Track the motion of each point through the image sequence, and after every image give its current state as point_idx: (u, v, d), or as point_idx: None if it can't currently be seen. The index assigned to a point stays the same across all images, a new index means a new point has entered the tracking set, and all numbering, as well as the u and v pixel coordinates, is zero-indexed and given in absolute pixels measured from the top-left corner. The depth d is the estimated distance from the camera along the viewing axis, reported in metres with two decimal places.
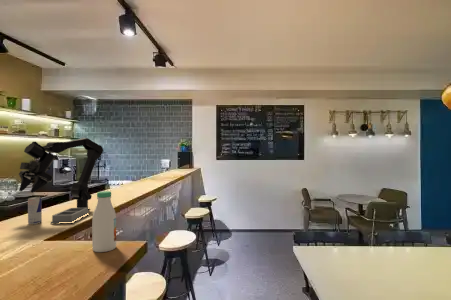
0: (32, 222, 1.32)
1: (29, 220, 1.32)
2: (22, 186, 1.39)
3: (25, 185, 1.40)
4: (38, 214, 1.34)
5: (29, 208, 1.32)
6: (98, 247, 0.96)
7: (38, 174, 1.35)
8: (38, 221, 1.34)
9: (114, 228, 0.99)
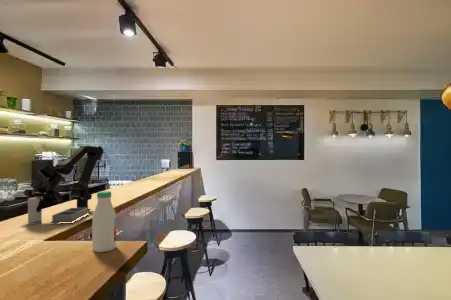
0: (32, 222, 1.32)
1: (29, 220, 1.32)
2: None
3: None
4: (38, 214, 1.34)
5: (29, 208, 1.32)
6: (98, 247, 0.96)
7: (50, 192, 1.35)
8: (38, 221, 1.34)
9: (114, 228, 0.99)
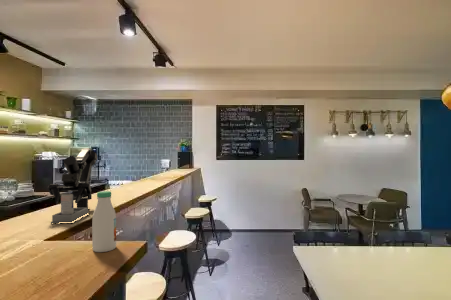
0: None
1: None
2: (57, 199, 1.37)
3: (58, 198, 1.39)
4: (73, 210, 1.39)
5: (64, 204, 1.36)
6: (98, 247, 0.96)
7: (83, 185, 1.42)
8: None
9: (114, 228, 0.99)
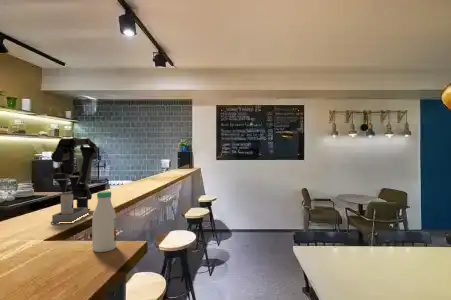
0: None
1: None
2: (72, 185, 1.53)
3: (74, 183, 1.53)
4: (73, 210, 1.39)
5: (64, 204, 1.36)
6: (98, 247, 0.96)
7: None
8: None
9: (114, 228, 0.99)
